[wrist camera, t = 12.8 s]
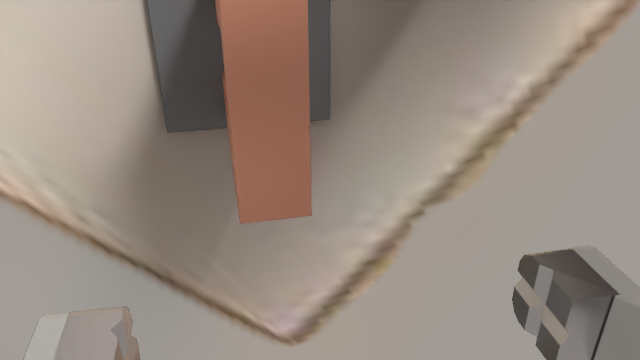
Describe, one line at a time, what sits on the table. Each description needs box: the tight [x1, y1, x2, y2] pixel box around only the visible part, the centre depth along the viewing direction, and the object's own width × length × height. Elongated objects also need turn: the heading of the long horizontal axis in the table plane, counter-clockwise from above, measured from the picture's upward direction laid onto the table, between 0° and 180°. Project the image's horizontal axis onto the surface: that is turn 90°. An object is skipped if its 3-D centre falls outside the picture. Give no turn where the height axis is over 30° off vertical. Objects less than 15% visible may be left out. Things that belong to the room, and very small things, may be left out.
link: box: [215, 0, 312, 224], centre depth 25 cm, size 3×9×12 cm, turn 1°
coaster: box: [147, 0, 330, 133], centre depth 31 cm, size 10×10×1 cm
